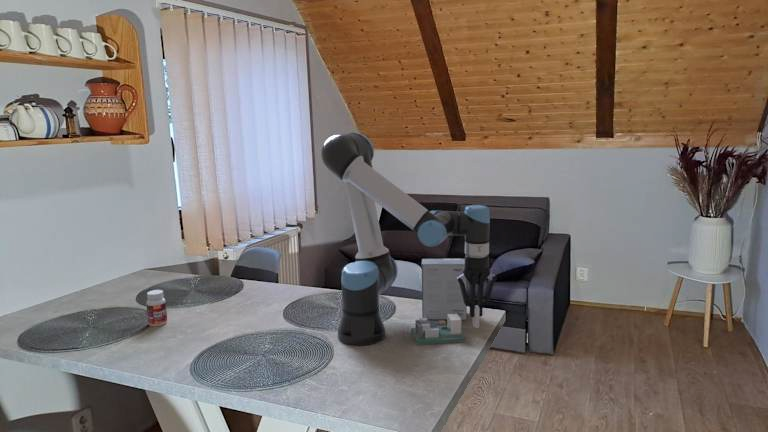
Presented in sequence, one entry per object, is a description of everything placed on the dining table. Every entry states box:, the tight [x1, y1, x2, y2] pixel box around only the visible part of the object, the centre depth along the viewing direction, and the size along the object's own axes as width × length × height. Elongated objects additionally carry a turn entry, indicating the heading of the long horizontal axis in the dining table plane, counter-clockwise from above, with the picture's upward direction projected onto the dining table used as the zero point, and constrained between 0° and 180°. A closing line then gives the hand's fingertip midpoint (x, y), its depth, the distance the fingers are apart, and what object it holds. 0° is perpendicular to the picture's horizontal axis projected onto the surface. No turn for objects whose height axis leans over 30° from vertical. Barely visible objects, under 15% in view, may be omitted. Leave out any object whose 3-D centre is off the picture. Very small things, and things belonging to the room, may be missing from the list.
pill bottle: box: [145, 289, 168, 327], centre depth 188 cm, size 6×6×11 cm
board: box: [411, 317, 465, 346], centre depth 174 cm, size 15×11×5 cm
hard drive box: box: [421, 258, 468, 321], centre depth 190 cm, size 16×8×20 cm, turn 84°
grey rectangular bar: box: [416, 319, 447, 327], centre depth 173 cm, size 9×3×1 cm, turn 96°
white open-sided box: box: [446, 314, 462, 334], centre depth 174 cm, size 3×5×5 cm, turn 6°
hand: (475, 325), depth 175 cm, fingers closed
